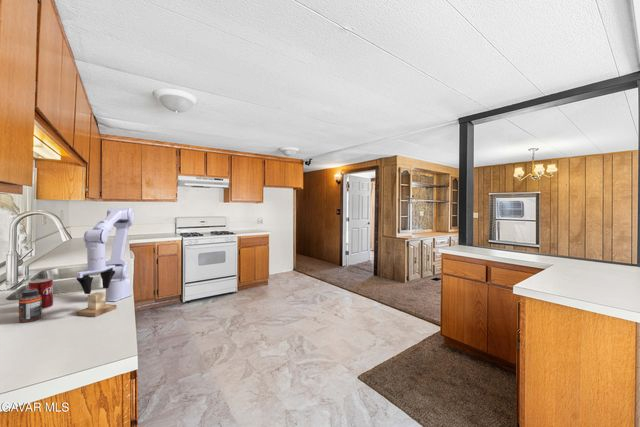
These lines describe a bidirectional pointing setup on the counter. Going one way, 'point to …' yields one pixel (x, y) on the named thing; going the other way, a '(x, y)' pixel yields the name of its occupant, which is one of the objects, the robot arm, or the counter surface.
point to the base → (96, 311)
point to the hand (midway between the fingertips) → (97, 290)
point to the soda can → (43, 291)
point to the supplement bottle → (30, 306)
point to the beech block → (96, 300)
